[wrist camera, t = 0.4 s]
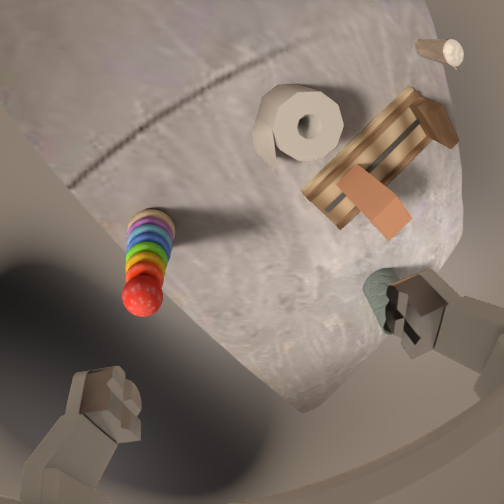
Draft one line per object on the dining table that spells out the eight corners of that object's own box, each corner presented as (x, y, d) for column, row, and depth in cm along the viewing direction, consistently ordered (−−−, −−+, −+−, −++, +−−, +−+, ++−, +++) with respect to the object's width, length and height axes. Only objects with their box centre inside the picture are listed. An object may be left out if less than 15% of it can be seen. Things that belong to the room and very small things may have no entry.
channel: (337, 225, 57) (357, 251, 50) (300, 191, 51) (319, 215, 45) (433, 130, 48) (462, 145, 42) (408, 86, 43) (439, 96, 36)
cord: (326, 211, 53) (328, 214, 52) (323, 208, 53) (325, 211, 52) (418, 121, 46) (421, 122, 45) (416, 117, 45) (419, 119, 44)
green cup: (388, 294, 73) (412, 329, 63) (354, 301, 71) (376, 339, 62) (400, 262, 67) (428, 297, 57) (364, 268, 65) (390, 306, 56)
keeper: (352, 202, 53) (388, 241, 43) (335, 183, 50) (371, 220, 40) (372, 183, 51) (412, 218, 42) (356, 163, 48) (397, 195, 39)
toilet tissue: (245, 160, 46) (257, 181, 39) (267, 76, 39) (286, 81, 32) (299, 170, 49) (320, 192, 42) (324, 92, 42) (351, 102, 35)
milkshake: (410, 60, 40) (451, 69, 32) (412, 32, 37) (453, 37, 29) (429, 66, 41) (469, 76, 33) (431, 39, 37) (472, 45, 30)
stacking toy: (184, 219, 50) (188, 301, 35) (162, 255, 53) (160, 341, 38) (140, 199, 46) (124, 277, 31) (121, 238, 49) (103, 322, 34)
